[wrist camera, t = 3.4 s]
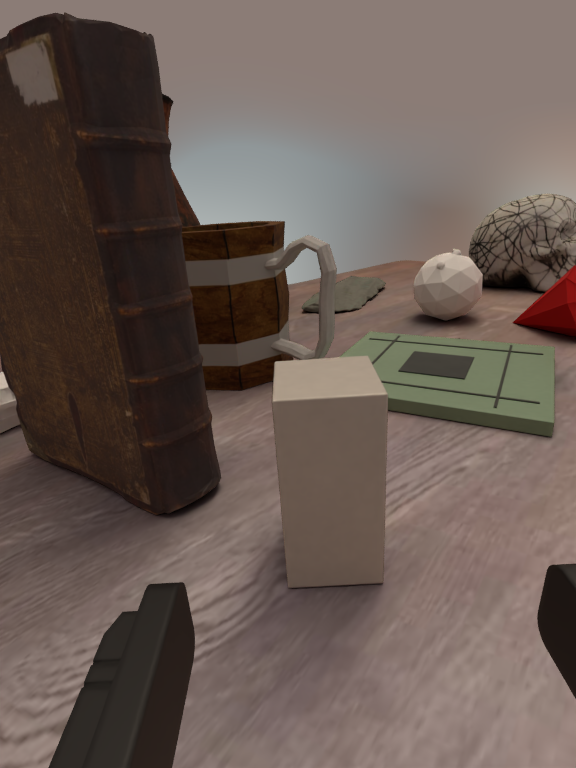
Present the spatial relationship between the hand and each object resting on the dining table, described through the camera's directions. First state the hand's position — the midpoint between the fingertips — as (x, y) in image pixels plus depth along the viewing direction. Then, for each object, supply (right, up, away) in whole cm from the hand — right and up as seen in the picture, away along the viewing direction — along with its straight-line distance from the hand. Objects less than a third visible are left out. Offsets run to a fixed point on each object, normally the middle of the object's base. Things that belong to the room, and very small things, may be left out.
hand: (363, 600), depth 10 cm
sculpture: (+40, +22, +69) cm, 83 cm away
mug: (-5, +6, +39) cm, 39 cm away
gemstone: (+31, +11, +45) cm, 56 cm away
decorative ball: (+22, +14, +53) cm, 59 cm away
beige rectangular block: (+1, -4, +14) cm, 14 cm away
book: (-14, -2, +22) cm, 26 cm away
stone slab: (+9, +20, +69) cm, 72 cm away
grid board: (+13, +6, +34) cm, 37 cm away
